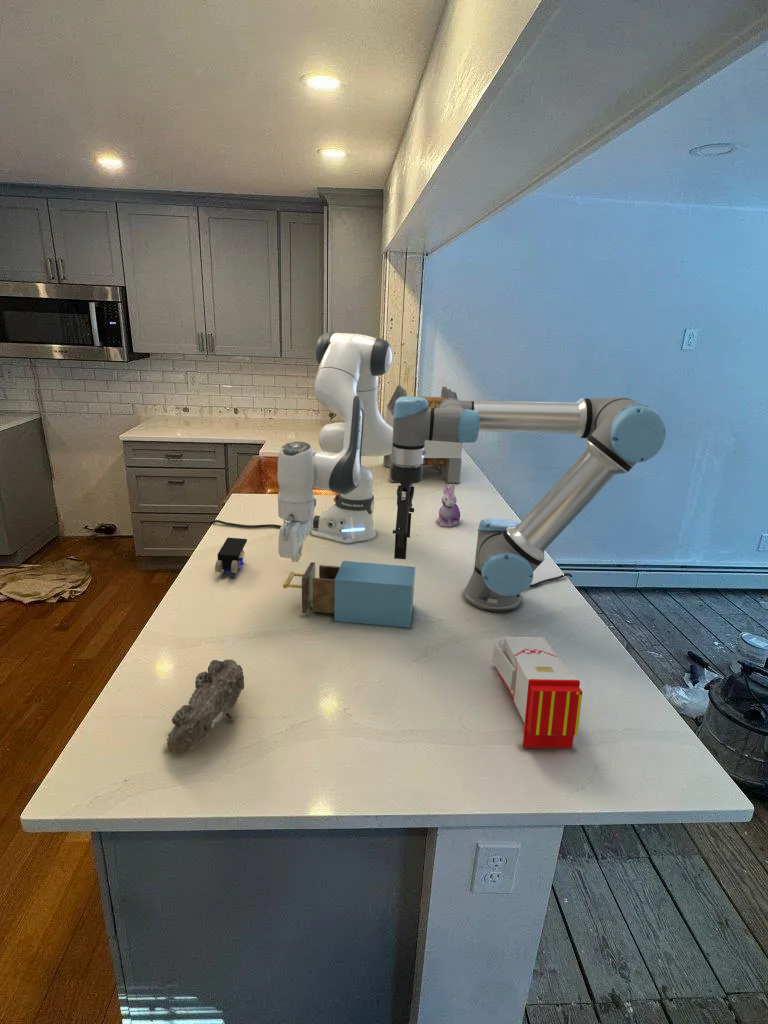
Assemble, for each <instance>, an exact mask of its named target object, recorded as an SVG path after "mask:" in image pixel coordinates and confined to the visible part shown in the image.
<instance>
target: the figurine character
mask: <svg viewBox="0 0 768 1024" xmlns="http://www.w3.org/2000/svg"><path fill="white" fill-rule="evenodd" d="M247 542H248V538H240V537H226V539H225V541H224V543H223V544H222V546H221V547H220V549H219V551H218V552H217V560H216V562H215V564H214V572H215V573H221V577H222V578H224V577H225V576H226V574H227V573H230V574H231V573H232V574H231V578H234V577H235V575H236V573H237V572H239V571H240V567H242V566H243V565H244V564H245V562H244V558H245V551H244V547H245V546H246V544H247Z"/></svg>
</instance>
